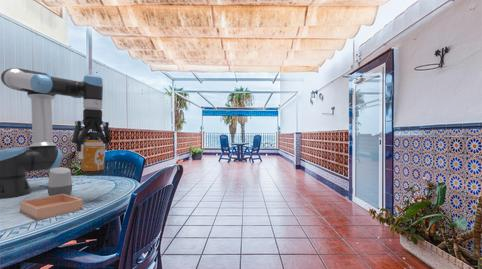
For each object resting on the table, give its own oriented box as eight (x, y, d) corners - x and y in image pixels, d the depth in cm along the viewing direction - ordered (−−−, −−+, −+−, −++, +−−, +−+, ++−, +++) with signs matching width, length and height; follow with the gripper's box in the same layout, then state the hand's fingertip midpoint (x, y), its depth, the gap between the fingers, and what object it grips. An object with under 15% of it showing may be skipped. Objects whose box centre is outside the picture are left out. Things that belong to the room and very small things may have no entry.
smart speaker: (52, 200, 110) (52, 170, 110) (44, 197, 115) (44, 168, 115) (75, 195, 118) (75, 167, 118) (66, 193, 123) (67, 166, 123)
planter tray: (19, 211, 94) (19, 201, 94) (63, 202, 107) (63, 193, 107) (36, 220, 85) (37, 209, 85) (82, 209, 98) (82, 199, 98)
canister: (93, 176, 104) (93, 131, 104) (72, 175, 107) (72, 130, 106) (108, 173, 113) (109, 131, 113) (88, 171, 116) (89, 130, 115)
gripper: (70, 106, 99) (69, 160, 99) (119, 111, 117) (119, 156, 117) (62, 107, 103) (61, 159, 103) (111, 111, 121) (110, 155, 121)
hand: (92, 157), depth 110 cm, fingers closed on canister, 9 cm apart
